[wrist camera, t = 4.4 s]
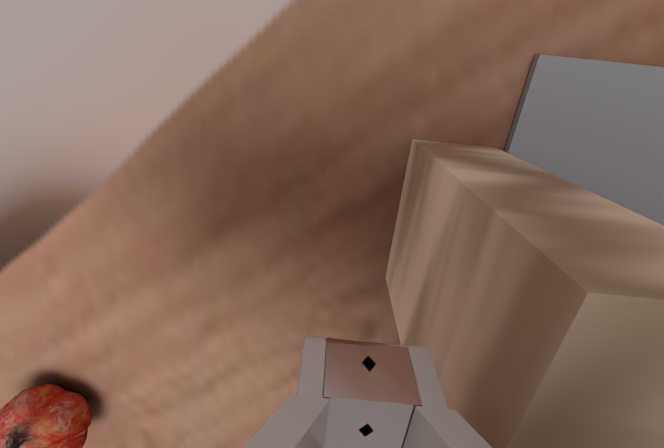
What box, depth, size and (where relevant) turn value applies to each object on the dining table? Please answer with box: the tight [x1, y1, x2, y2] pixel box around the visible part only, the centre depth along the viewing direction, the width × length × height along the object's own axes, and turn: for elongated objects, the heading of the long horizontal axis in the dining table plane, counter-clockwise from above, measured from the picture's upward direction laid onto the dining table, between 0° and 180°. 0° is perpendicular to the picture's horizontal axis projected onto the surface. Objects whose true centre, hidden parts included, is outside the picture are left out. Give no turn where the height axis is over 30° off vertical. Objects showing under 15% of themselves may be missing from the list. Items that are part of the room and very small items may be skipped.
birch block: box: [385, 139, 664, 448], centre depth 12 cm, size 4×8×12 cm, turn 175°
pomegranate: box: [0, 384, 92, 448], centre depth 22 cm, size 6×6×8 cm
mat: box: [504, 54, 664, 226], centre depth 17 cm, size 14×16×1 cm
